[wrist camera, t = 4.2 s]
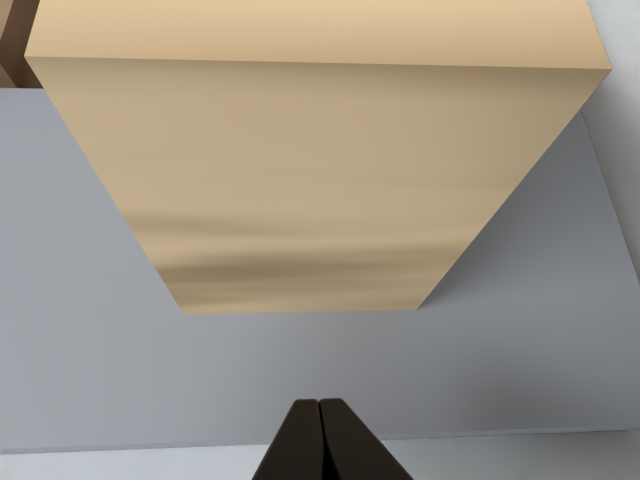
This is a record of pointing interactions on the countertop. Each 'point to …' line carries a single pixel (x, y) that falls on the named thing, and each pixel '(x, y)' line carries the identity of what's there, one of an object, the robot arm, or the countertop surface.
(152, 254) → the block
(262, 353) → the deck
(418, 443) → the countertop surface
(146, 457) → the countertop surface
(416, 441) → the countertop surface
